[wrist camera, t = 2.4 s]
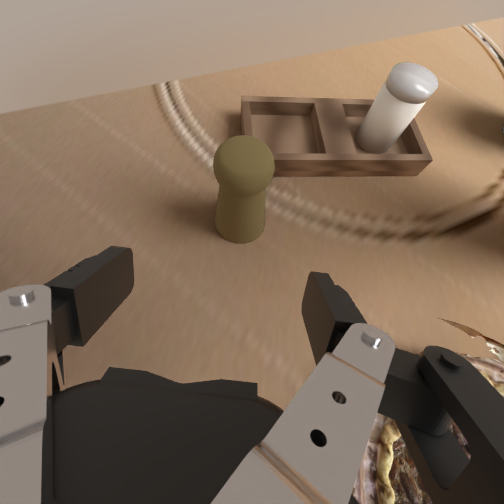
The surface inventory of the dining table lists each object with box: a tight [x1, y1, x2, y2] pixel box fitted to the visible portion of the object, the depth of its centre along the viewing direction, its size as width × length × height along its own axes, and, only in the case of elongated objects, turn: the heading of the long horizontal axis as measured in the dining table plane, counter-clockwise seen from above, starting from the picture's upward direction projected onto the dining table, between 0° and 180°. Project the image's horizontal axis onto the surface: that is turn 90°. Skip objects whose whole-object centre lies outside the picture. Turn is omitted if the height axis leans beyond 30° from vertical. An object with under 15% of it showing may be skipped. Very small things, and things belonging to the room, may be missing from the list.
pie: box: [352, 318, 504, 504], centre depth 20 cm, size 28×27×5 cm
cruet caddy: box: [241, 96, 433, 176], centre depth 34 cm, size 24×11×3 cm, turn 94°
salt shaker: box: [355, 62, 438, 154], centre depth 31 cm, size 5×5×9 cm
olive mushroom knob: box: [213, 135, 275, 243], centre depth 24 cm, size 6×6×11 cm
